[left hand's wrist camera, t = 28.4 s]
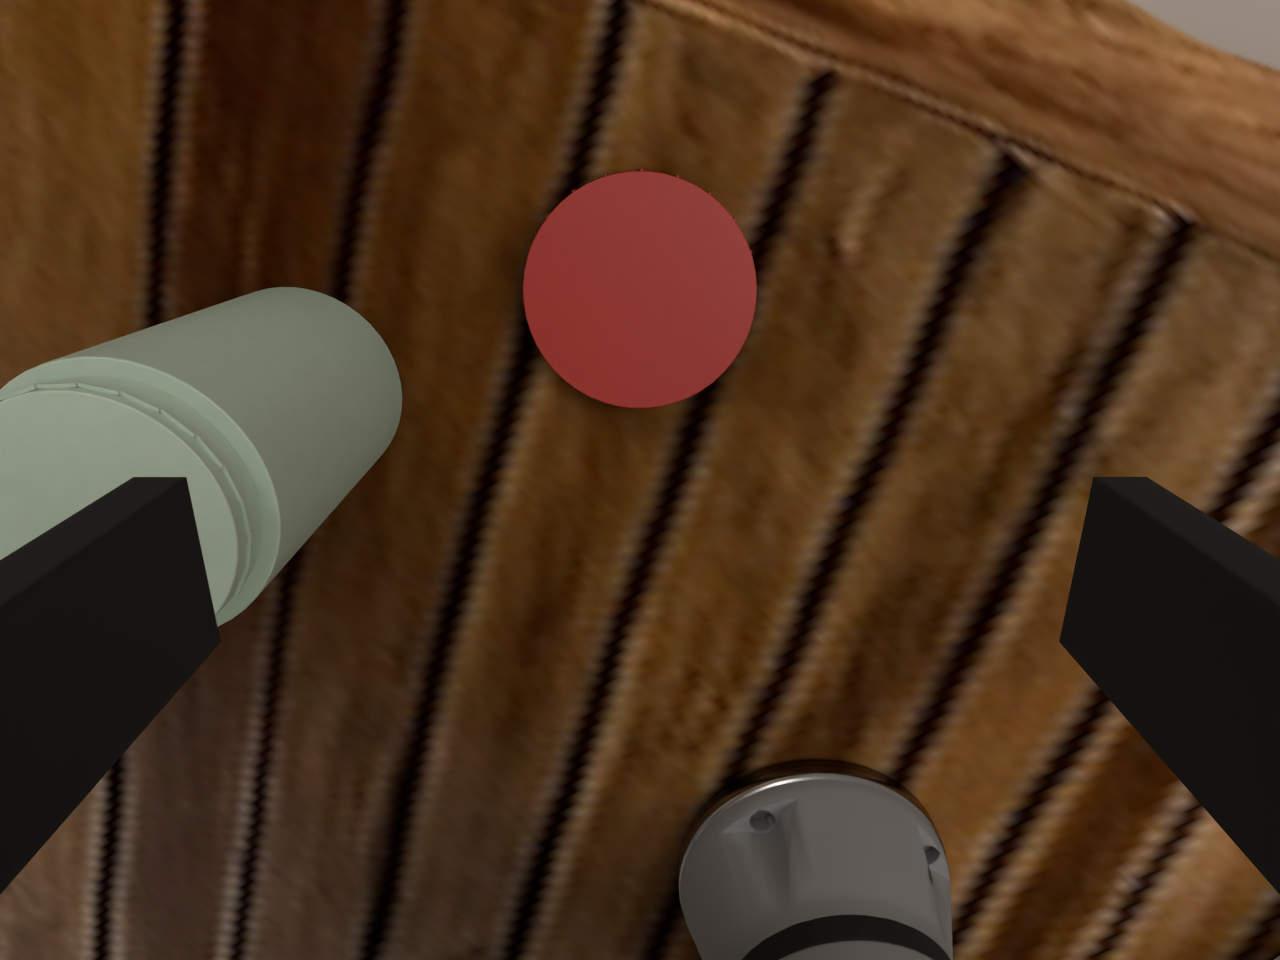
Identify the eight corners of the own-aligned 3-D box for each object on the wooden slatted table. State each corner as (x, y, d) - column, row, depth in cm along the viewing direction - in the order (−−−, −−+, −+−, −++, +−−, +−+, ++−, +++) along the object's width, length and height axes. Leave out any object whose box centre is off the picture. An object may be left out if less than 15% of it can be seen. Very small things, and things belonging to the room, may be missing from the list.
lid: (481, 255, 37) (473, 260, 35) (674, 118, 35) (676, 116, 33) (609, 437, 40) (607, 450, 38) (793, 320, 38) (801, 329, 36)
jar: (433, 346, 38) (300, 464, 23) (360, 513, 41) (202, 714, 26) (234, 248, 37) (-44, 308, 22) (174, 430, 39) (-107, 592, 25)
